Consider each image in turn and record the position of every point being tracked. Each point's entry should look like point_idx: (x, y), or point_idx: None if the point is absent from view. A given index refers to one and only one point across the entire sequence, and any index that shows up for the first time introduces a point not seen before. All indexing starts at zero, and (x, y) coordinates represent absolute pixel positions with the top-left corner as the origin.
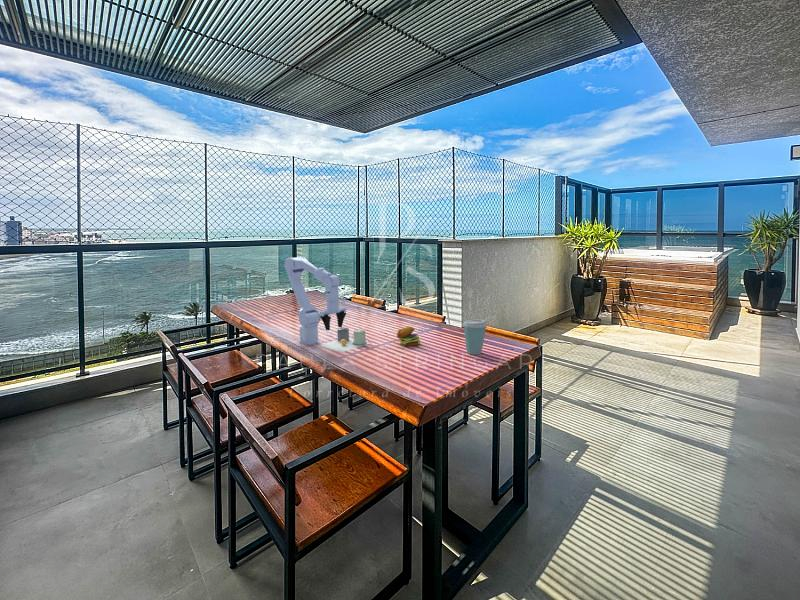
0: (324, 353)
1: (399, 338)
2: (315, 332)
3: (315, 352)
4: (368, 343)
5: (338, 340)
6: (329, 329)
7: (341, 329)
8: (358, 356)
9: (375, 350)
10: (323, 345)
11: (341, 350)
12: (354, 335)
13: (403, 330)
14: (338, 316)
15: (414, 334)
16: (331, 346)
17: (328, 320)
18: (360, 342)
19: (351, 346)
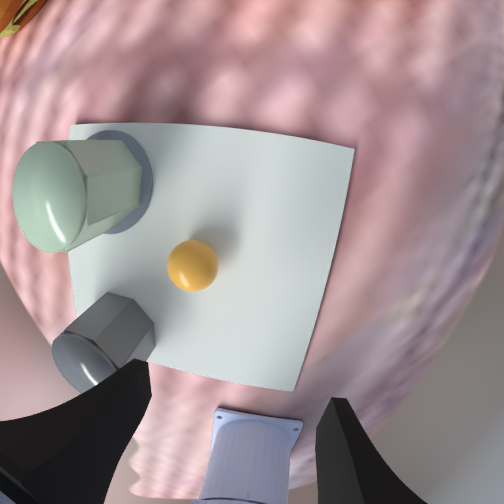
0: (406, 264)
1: (12, 23)
2: (248, 467)
3: (404, 325)
4: (83, 130)
5: (153, 344)
6: (335, 403)
7: (100, 375)
8: (344, 10)
9: (172, 2)
10: (280, 367)
11: (322, 181)
12: (101, 209)
13: None
14: (95, 485)
15: None
16: (274, 313)
17: (402, 499)
18: (120, 149)
19: (193, 180)
